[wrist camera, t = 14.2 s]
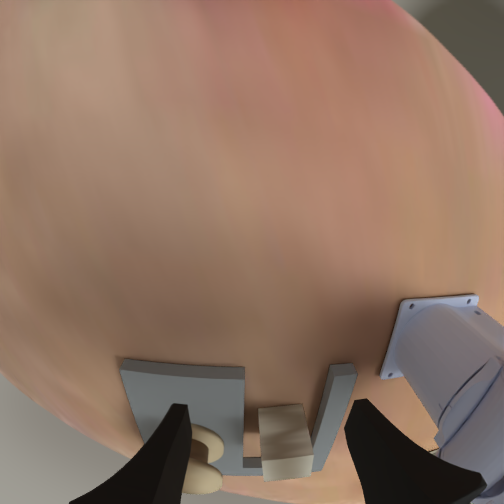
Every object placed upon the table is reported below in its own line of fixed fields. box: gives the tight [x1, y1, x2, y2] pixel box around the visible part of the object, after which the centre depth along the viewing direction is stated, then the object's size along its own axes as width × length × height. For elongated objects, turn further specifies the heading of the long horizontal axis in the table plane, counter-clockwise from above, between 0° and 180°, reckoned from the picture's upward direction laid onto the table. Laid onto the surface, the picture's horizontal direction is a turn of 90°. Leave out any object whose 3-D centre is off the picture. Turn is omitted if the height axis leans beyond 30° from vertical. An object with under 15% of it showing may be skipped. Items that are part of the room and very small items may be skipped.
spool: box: [182, 423, 224, 494], centre depth 20 cm, size 6×6×5 cm
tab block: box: [258, 404, 314, 482], centre depth 21 cm, size 4×4×6 cm
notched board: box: [119, 359, 358, 476], centre depth 23 cm, size 19×16×2 cm
